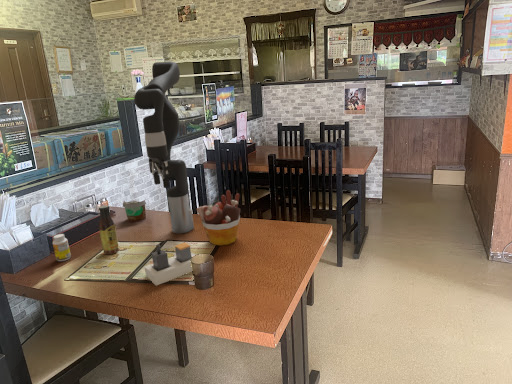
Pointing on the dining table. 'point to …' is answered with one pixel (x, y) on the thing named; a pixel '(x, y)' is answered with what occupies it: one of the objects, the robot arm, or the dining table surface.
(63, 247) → the supplement bottle
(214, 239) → the bucket of meat
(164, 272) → the white rectangular frame
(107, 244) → the sauce bottle
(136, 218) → the food container
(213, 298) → the dining table surface
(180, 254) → the plug
